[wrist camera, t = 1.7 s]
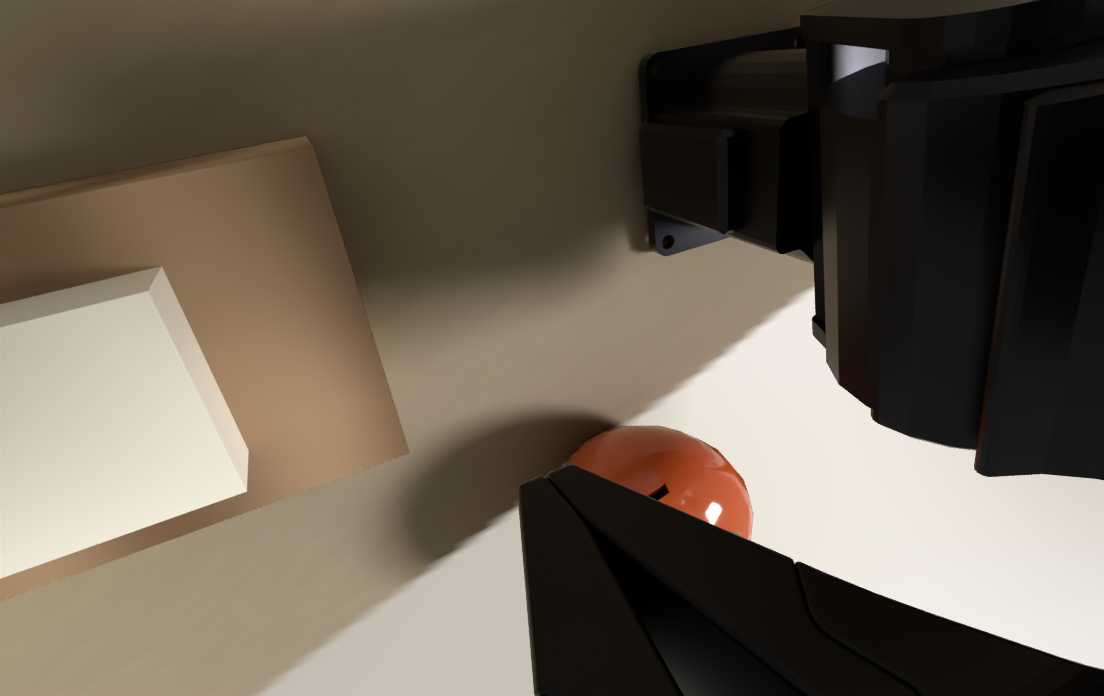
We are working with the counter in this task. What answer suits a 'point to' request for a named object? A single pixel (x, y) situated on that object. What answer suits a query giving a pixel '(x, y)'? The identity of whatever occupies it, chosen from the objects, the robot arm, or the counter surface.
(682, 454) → the tomato
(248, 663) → the counter surface
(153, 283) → the white rectangular block
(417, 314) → the counter surface
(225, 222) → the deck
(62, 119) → the counter surface
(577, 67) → the counter surface
